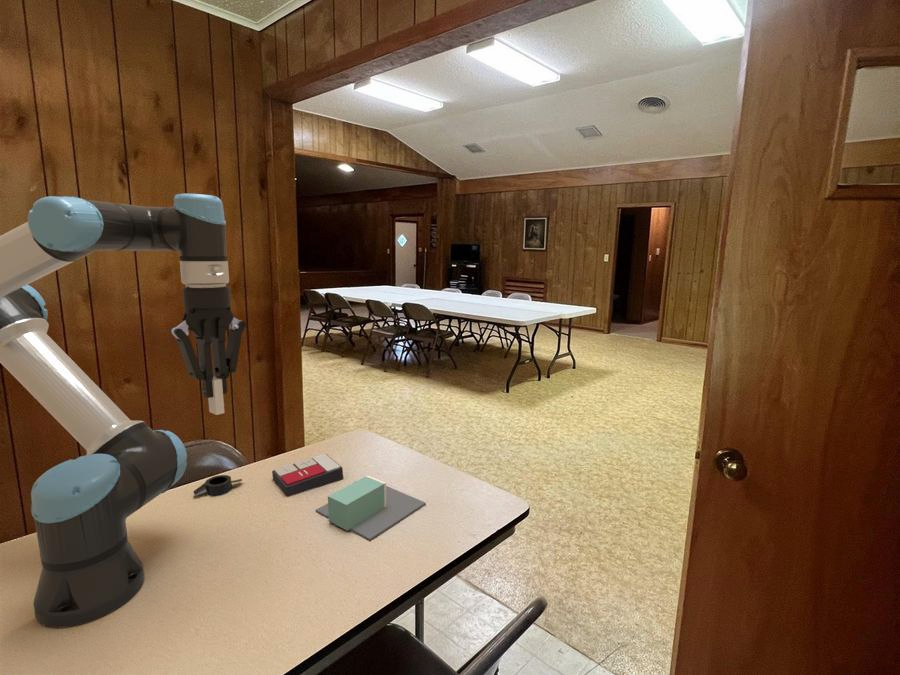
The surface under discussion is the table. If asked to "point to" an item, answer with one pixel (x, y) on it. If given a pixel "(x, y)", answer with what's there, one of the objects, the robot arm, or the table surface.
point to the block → (356, 502)
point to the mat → (384, 514)
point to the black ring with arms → (216, 486)
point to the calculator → (307, 474)
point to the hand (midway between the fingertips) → (216, 412)
